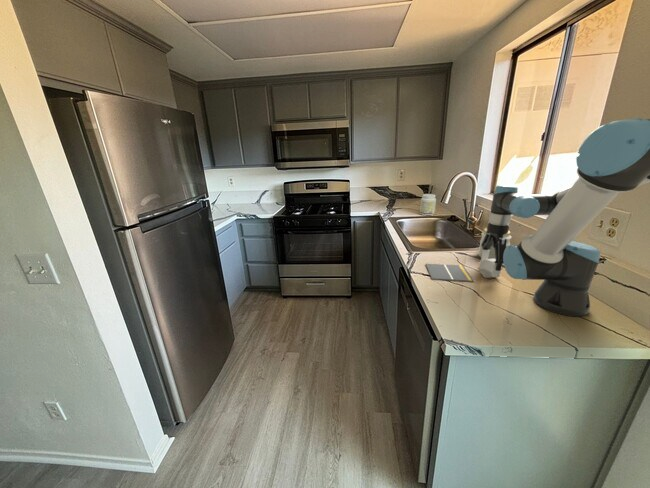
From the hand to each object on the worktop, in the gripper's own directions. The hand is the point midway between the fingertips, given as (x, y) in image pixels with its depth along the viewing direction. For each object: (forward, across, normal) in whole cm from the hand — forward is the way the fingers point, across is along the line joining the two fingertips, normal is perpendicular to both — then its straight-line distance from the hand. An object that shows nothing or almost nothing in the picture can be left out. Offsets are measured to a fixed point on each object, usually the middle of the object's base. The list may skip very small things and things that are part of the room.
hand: (489, 269), depth 117 cm
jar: (+4, +24, -10) cm, 26 cm away
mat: (+3, 0, +16) cm, 17 cm away
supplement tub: (+5, +118, +7) cm, 119 cm away
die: (+3, 0, 0) cm, 3 cm away
